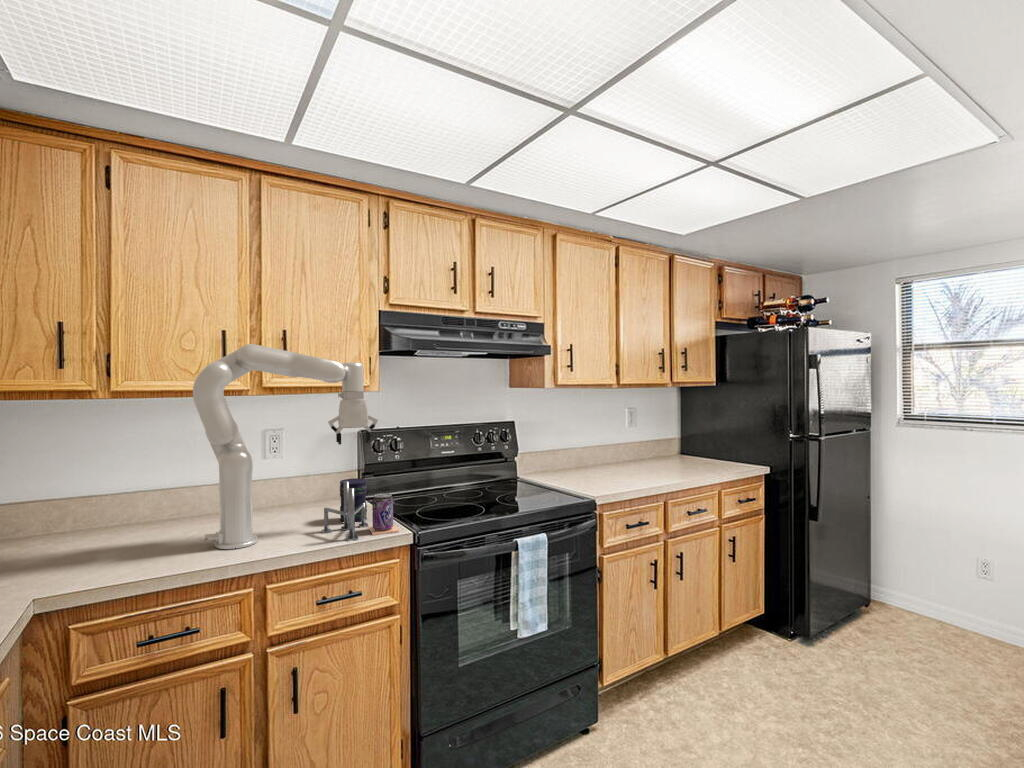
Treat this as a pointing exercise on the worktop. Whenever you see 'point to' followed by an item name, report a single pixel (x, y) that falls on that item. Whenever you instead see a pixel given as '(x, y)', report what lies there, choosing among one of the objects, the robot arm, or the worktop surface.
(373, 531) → the plate
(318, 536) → the worktop surface
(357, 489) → the dark purple cylinder
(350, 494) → the grey open angular frame
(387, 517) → the beverage can
